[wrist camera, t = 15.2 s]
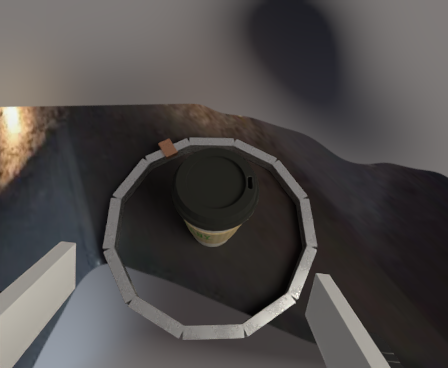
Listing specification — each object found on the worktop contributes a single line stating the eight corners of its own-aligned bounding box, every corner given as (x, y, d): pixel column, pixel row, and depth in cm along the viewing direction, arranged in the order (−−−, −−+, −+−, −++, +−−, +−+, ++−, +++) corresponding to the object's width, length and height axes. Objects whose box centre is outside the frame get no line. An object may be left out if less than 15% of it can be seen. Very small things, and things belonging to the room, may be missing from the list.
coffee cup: (182, 195, 46) (174, 140, 32) (243, 198, 46) (260, 144, 33) (176, 258, 41) (163, 223, 28) (244, 260, 42) (264, 227, 28)
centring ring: (78, 189, 45) (71, 181, 42) (238, 118, 54) (240, 107, 51) (167, 392, 34) (164, 397, 31) (350, 261, 43) (359, 257, 40)
